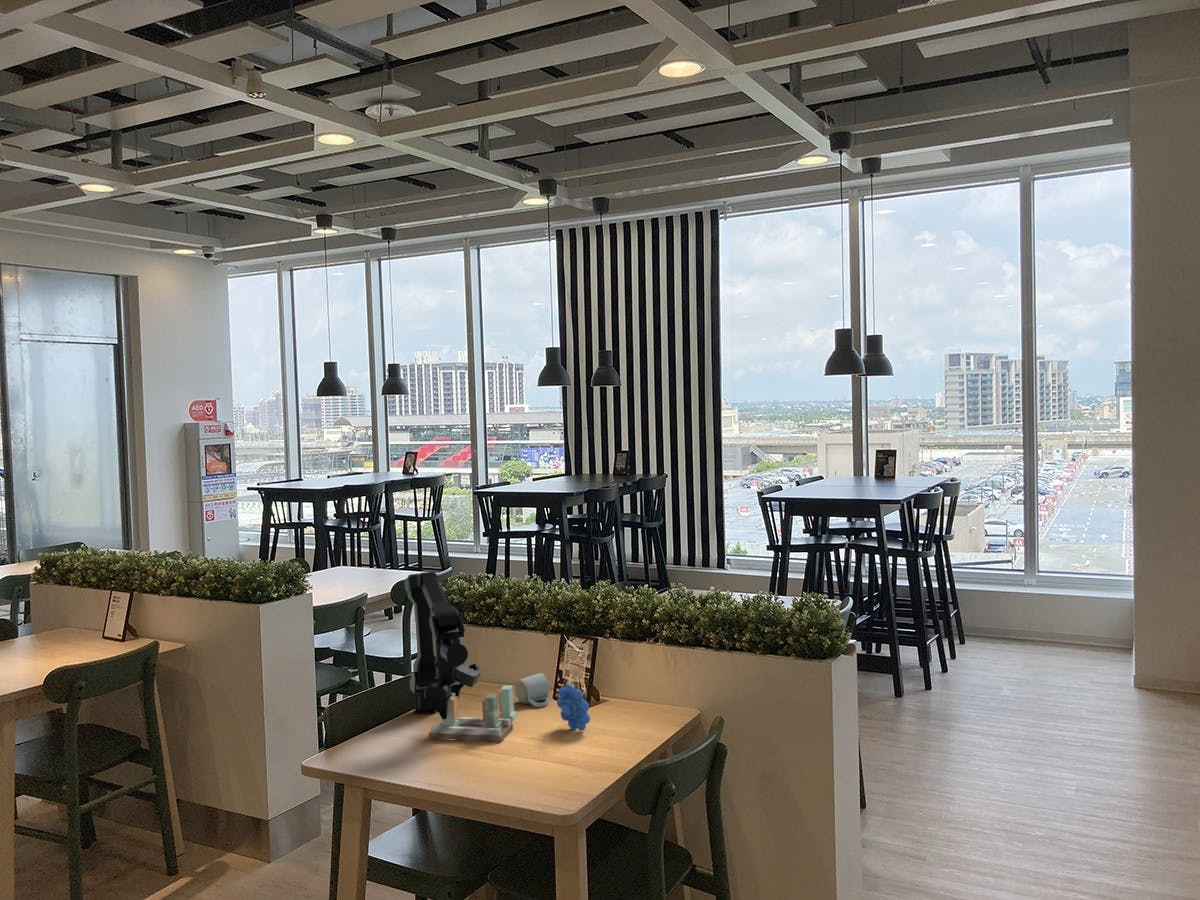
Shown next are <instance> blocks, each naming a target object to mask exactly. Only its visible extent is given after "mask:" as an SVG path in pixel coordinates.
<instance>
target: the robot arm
mask: <svg viewBox="0 0 1200 900" xmlns="http://www.w3.org/2000/svg"><path fill="white" fill-rule="evenodd" d="M404 589H405V591H406V594H407V597H408V599H409V600H410V601H411V603H412V604H413V609H414V622H415V624H414V625H415V634H416V647H417V657H416V659H415V661H414V663H413V665H412V666H413V667H412V670H413V671H412V672H411V675H410V678H409V679H410V680H409V688H410V691H411V692H412V693H413V694H414V709H413V711H412V713H413V714H430V713H433V714H435V713H436V712H438V714H439V716H440V717H441V720H442V719H447V710H448V700H449V699H450V698H451V697H452V695H453V694H451V693H455V696H458V701H459V699H460V695H461V691H462V689H463V688H464V687H465V686H466V687H469V688H473V687H474V686H475V685H476V684H477V683H478V679H479V677H480V676H481V670H480V667H479V664H478V663H476V662H472V664H471V665H463V664H464V663H465V662H466V661H467V659H468V655H469V652H468V649H467V647H466V646H465V645H464V644H462V643H461V639H460V638H465V631H466V629H465V626H464V622H463V620H462V616H461V615H460V613H459V612H458V611H457V610H456V608H455V606H454V605H453V604H451V603H448V602H447V600H446V597H445V596H444V593H443V591H442V588H441V586H440V583H439V581H438V574H437V572H436V571H435V572H434V571H427V572H426V571H425V572H420V573H412V574H408V575H407V577H406V578H405V579H404ZM434 647H435V648H434ZM437 710H438V711H437ZM434 712H435V713H434Z"/></svg>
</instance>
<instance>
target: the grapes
mask: <svg viewBox="0 0 1200 900" xmlns="http://www.w3.org/2000/svg"><path fill="white" fill-rule="evenodd" d="M558 695H559V697H558V698H557V700H556V705H557V706H558V708H559V709H561V711H560V717H561V719H562V720H563V721H566V722H567V725H568V727H569V728H570V729H571V730H578V731H581V732H583V731H585V729H586V725H587V724H589V723H590V721H591V715H590V714H589V713H588V711H589V709H590V706H589V705H590V704H589V703H588V701H587V700H585V699H584V698H583V697H584V694H583V692H582V690H581V689H578V688H575V687H574V685H572V684H570V683H567V684H566V685H565V686H563V687H560V688H559V689H558Z"/></svg>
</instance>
